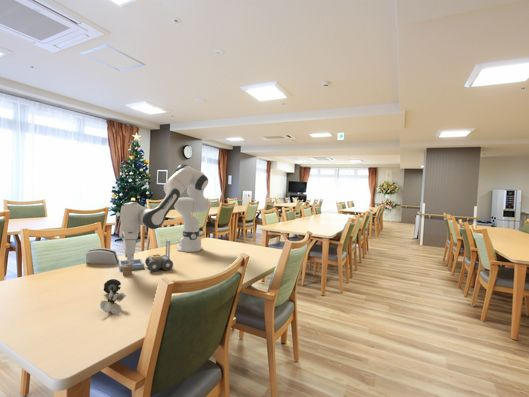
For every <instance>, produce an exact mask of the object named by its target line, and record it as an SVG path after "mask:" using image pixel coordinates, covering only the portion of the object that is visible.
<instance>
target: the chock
mask: <svg viewBox="0 0 529 397" xmlns="http://www.w3.org/2000/svg"><path fill="white" fill-rule="evenodd" d="M121 272H122V276H124V277H125V276H133V270H132V265H131V264H124V265H123V271H121Z"/></svg>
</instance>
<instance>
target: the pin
mask: <svg viewBox="0 0 529 397" xmlns="http://www.w3.org/2000/svg"><path fill="white" fill-rule="evenodd" d="M134 256H135V253H134V254H132V258H131V262H129V264H131V265H134V259H135V258H134Z"/></svg>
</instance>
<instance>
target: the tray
mask: <svg viewBox="0 0 529 397" xmlns="http://www.w3.org/2000/svg"><path fill="white" fill-rule="evenodd" d="M144 263H145V262H144V261H143V259H142V258H137V259H135V258H134V265H132V271H133V270H134V271H135V270H142V269H143V270H144V269H145V264H144ZM117 264H118V269H119V272H123V265H124V264H129V262H127V259H124V260H123V259H121V260H119V262H117Z"/></svg>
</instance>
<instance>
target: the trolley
mask: <svg viewBox="0 0 529 397" xmlns="http://www.w3.org/2000/svg"><path fill="white" fill-rule="evenodd" d="M170 253H171V240H170V239H168V238H165V254H160V253H157V254H156V253H154V254H150V256H148V257H146V259H145V262H144V263H145V266H147V269H148V271H150V273H151V272H152V273H156V272H158V271H160V268H162V270H163V271H170V270H171V269H172V268H173V267H174V262H173V261H172V260H171V256H170V255H171V254H170Z"/></svg>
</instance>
